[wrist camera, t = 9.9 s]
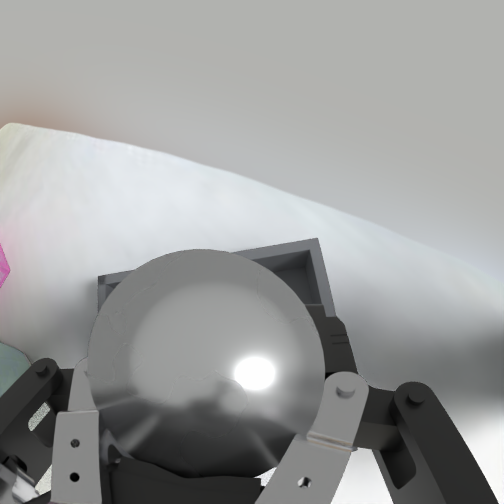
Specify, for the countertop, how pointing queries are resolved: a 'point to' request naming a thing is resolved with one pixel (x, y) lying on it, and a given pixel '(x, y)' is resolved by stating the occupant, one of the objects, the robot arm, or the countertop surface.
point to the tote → (281, 264)
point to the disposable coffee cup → (11, 366)
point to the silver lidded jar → (205, 365)
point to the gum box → (3, 267)
